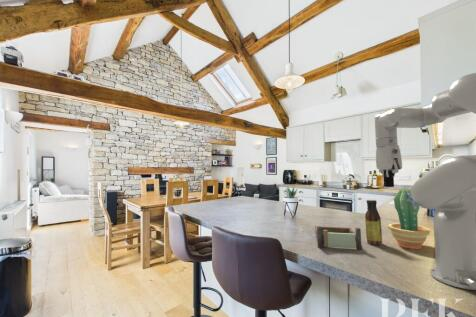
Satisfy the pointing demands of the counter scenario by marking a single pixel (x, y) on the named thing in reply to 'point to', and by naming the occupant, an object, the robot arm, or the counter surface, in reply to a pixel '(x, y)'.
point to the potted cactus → (408, 222)
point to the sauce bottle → (373, 224)
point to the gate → (339, 240)
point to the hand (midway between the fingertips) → (388, 186)
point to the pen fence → (320, 232)
